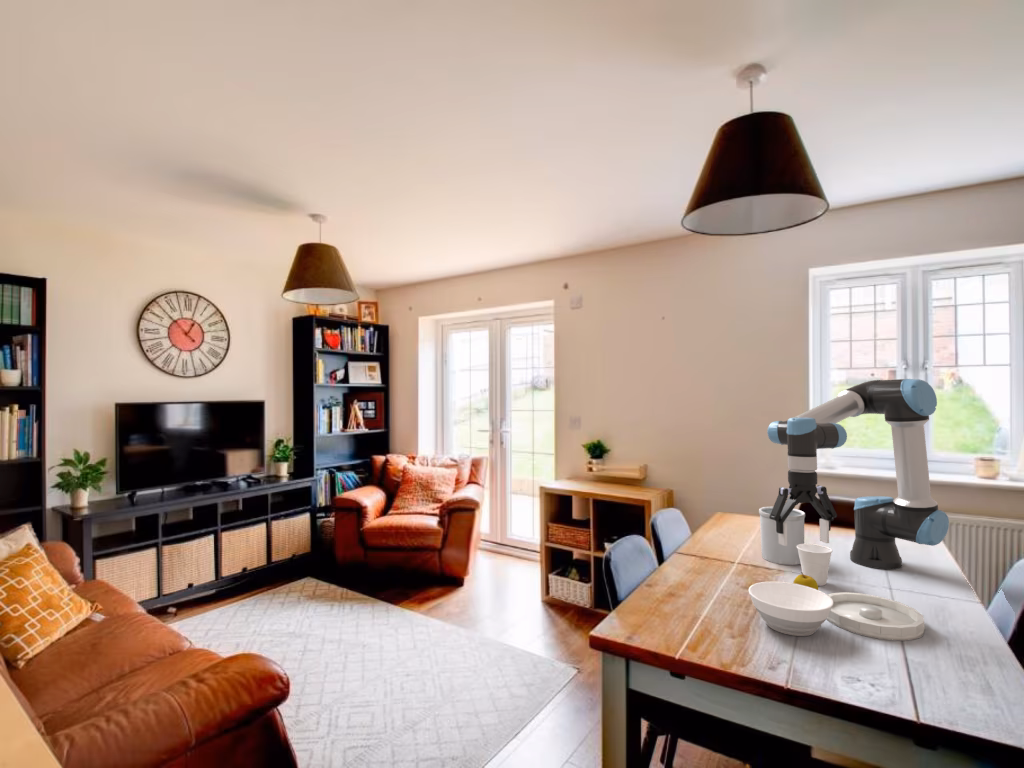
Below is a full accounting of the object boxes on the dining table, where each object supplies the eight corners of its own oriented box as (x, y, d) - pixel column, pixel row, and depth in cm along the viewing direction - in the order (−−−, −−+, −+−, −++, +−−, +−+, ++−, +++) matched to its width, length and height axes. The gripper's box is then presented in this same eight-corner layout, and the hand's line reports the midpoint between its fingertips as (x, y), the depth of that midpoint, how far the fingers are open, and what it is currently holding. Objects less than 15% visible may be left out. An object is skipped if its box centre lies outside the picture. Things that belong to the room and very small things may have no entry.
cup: (838, 589, 159) (837, 553, 159) (803, 587, 161) (802, 552, 161) (826, 578, 169) (825, 544, 169) (792, 576, 171) (792, 542, 171)
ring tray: (871, 601, 150) (871, 589, 150) (947, 636, 128) (947, 623, 128) (803, 607, 146) (802, 595, 146) (869, 644, 124) (869, 631, 125)
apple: (795, 594, 155) (794, 568, 155) (819, 599, 152) (819, 572, 152) (792, 602, 150) (791, 574, 150) (817, 607, 146) (816, 578, 147)
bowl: (834, 652, 121) (833, 616, 121) (743, 633, 131) (743, 600, 131) (834, 621, 137) (833, 589, 138) (754, 606, 148) (753, 576, 148)
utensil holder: (810, 567, 179) (809, 516, 180) (763, 563, 184) (761, 514, 184) (801, 554, 193) (800, 507, 193) (757, 551, 198) (756, 505, 198)
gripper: (830, 467, 158) (831, 537, 157) (755, 469, 153) (756, 542, 153) (850, 470, 150) (851, 544, 150) (772, 473, 146) (773, 549, 146)
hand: (803, 543), depth 151 cm, fingers open, 13 cm apart
